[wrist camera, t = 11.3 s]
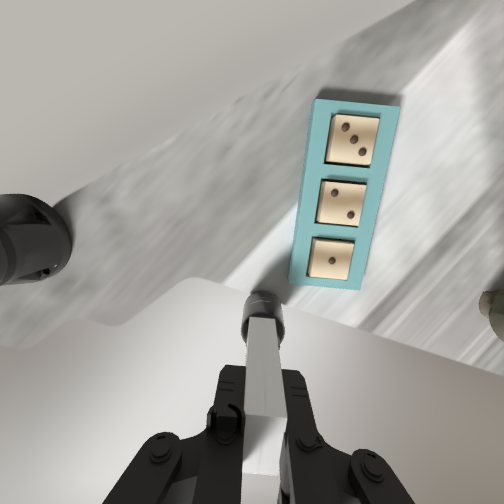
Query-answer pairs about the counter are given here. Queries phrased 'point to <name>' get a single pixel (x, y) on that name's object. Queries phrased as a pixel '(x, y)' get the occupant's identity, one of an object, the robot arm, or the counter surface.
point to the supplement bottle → (263, 313)
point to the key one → (330, 258)
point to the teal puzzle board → (317, 170)
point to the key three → (351, 139)
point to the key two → (340, 203)
